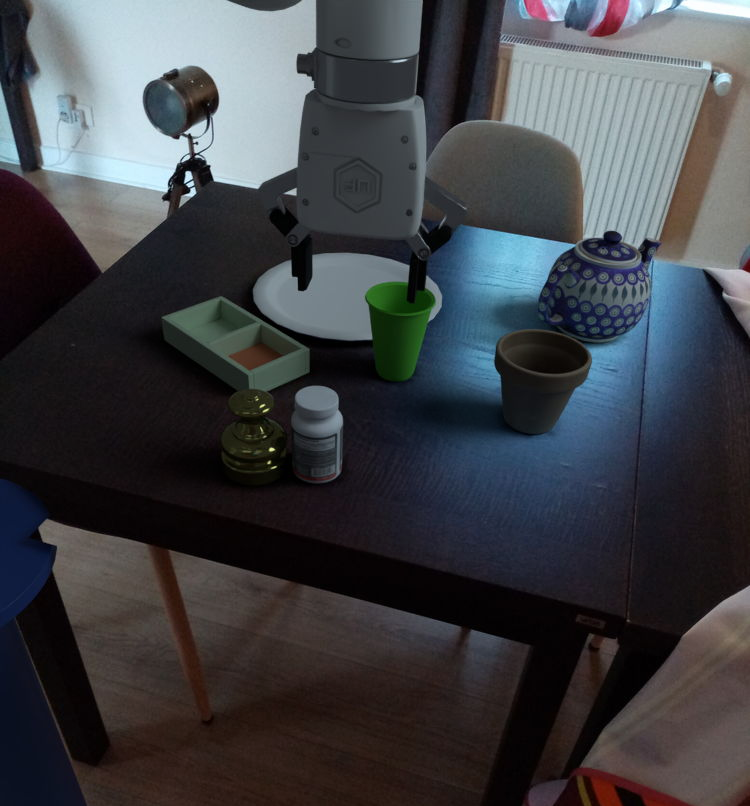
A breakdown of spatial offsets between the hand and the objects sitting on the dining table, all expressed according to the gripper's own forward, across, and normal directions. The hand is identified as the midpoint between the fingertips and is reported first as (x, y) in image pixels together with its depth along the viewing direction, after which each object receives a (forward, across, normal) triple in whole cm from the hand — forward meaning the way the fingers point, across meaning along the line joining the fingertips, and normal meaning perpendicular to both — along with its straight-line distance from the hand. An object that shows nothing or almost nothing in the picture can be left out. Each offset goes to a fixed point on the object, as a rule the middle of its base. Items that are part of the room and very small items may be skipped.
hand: (358, 290), depth 69 cm
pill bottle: (+25, -5, +5) cm, 26 cm away
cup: (+25, +2, +28) cm, 37 cm away
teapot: (+25, +29, +47) cm, 61 cm away
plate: (+25, -8, +46) cm, 53 cm away
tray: (+25, -20, +27) cm, 42 cm away
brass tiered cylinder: (+25, -12, +4) cm, 28 cm away
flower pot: (+25, +20, +20) cm, 38 cm away
